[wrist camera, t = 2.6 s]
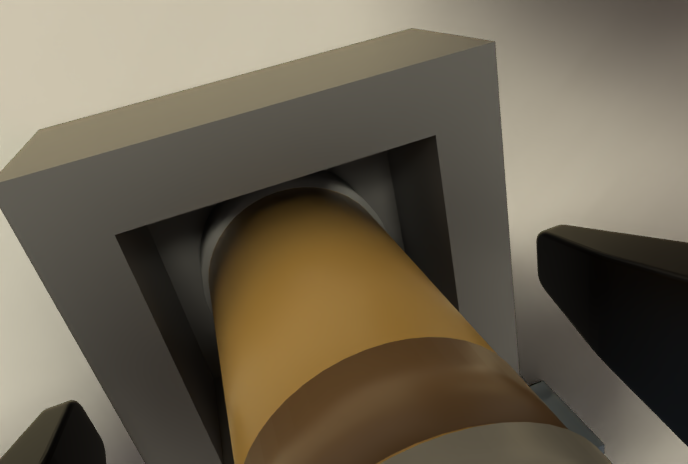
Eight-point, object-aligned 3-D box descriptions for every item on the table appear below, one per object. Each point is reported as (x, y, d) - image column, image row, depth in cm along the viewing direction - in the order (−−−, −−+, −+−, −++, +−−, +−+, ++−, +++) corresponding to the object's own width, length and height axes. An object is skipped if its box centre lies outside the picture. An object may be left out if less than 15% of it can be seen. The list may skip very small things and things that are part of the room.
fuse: (355, 142, 10) (740, 454, 3) (386, 292, 12) (688, 709, 5) (172, 198, 10) (184, 714, 3) (231, 348, 11) (333, 908, 4)
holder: (411, 28, 10) (494, 41, 8) (452, 315, 14) (521, 392, 11) (38, 129, 9) (-12, 186, 7) (180, 417, 12) (184, 531, 10)
